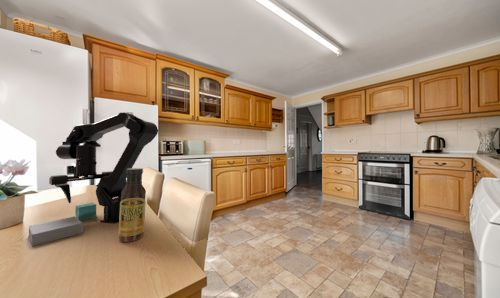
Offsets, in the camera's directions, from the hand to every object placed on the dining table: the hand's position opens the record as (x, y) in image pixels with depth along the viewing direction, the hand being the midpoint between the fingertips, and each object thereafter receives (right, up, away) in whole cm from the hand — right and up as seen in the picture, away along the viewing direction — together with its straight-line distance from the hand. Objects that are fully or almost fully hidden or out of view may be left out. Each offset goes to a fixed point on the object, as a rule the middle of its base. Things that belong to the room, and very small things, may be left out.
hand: (86, 200), depth 70 cm
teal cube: (0, -7, 0) cm, 7 cm away
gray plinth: (+4, -6, -14) cm, 16 cm away
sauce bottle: (+28, -6, -17) cm, 34 cm away
